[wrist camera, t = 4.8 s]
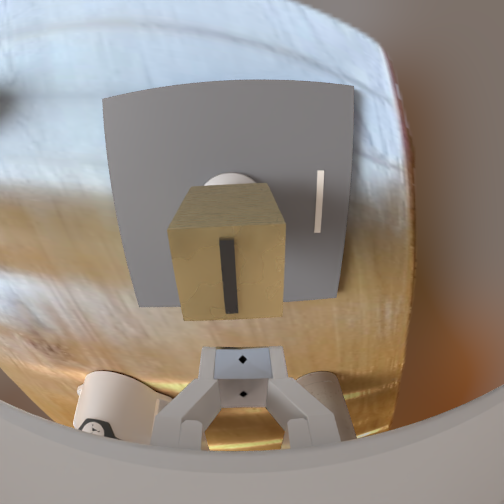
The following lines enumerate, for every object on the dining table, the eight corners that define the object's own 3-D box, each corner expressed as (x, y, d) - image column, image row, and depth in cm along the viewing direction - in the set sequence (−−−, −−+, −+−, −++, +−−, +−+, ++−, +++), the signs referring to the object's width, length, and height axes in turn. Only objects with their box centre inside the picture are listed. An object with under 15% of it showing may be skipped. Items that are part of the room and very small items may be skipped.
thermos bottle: (321, 401, 43) (356, 545, 18) (280, 397, 41) (304, 558, 17) (346, 373, 40) (398, 533, 15) (303, 368, 38) (344, 553, 13)
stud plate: (332, 290, 32) (360, 348, 23) (142, 299, 31) (119, 359, 22) (347, 87, 22) (401, 79, 13) (109, 99, 21) (52, 98, 12)
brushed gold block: (267, 250, 23) (282, 318, 16) (198, 254, 23) (183, 323, 15) (266, 182, 20) (286, 225, 13) (190, 186, 20) (166, 231, 13)
